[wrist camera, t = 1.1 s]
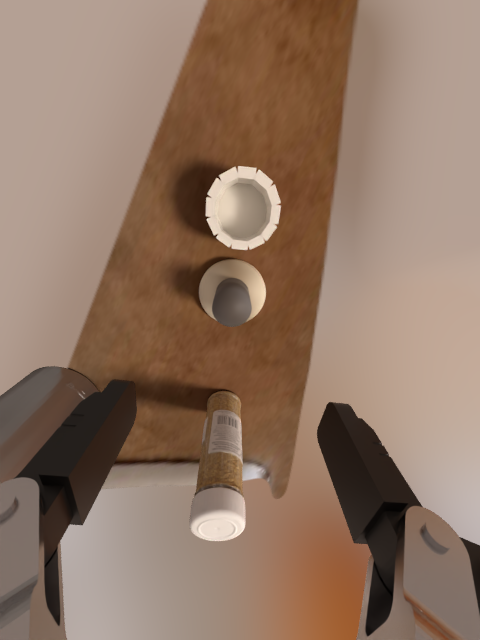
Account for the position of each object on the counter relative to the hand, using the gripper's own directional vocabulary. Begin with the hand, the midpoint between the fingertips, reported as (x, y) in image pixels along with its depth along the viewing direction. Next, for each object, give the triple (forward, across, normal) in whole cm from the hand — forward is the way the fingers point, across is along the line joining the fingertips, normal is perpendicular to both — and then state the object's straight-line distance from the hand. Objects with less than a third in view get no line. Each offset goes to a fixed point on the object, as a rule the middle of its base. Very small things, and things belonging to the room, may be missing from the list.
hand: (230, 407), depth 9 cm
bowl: (+16, 0, -8) cm, 17 cm away
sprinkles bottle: (+16, -1, +15) cm, 22 cm away
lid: (+16, 0, 0) cm, 16 cm away
